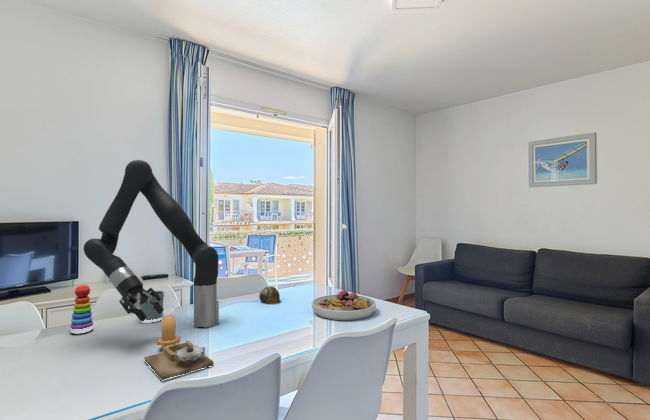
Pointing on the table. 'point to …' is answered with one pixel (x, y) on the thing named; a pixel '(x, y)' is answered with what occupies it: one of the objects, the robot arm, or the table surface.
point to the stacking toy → (82, 308)
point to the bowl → (343, 306)
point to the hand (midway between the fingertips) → (153, 315)
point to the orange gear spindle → (168, 331)
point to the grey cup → (149, 309)
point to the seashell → (270, 295)
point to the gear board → (178, 360)
